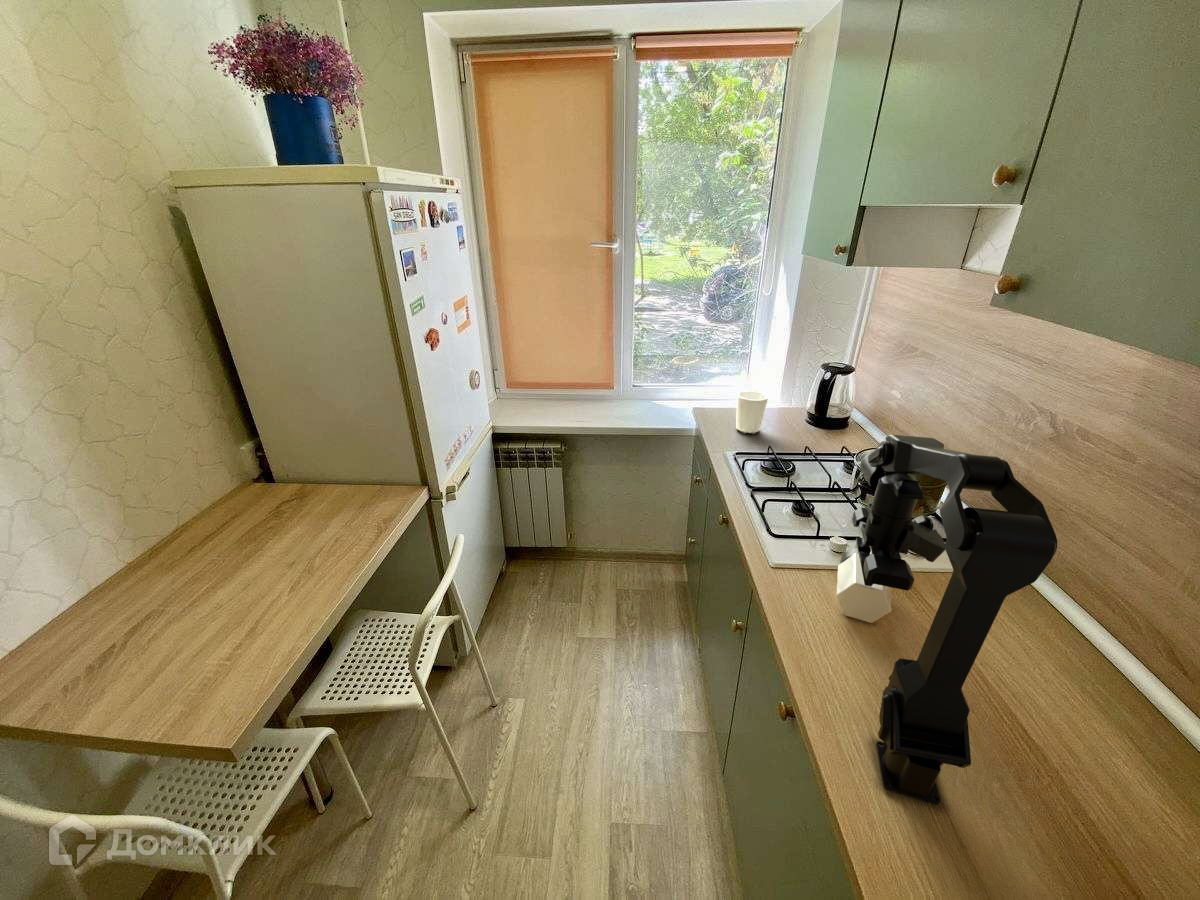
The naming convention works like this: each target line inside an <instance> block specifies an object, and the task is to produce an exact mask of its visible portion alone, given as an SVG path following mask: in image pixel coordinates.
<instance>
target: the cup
mask: <svg viewBox="0 0 1200 900" xmlns="http://www.w3.org/2000/svg"><path fill="white" fill-rule="evenodd" d="M736 396H737V397H736V422H735V423H736V424H735V425H736V426H735V429H736V431H739V432H740V433H741V434H743V435H746V434H751V435H755V434H757V433H758V432H759V431H760V430H761V429H760V428H761V425H762V422H763V418H764V415H765V411H766V407H767V405H768V400H769V396H768V394H766V393H765V392H761V391H757V390H740V391H739V392H737V394H736Z"/></svg>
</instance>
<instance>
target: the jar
mask: <svg viewBox="0 0 1200 900" xmlns="http://www.w3.org/2000/svg"><path fill="white" fill-rule="evenodd" d="M836 598H837V601H838V603H839V605H840V608H841V610H842V612H843V615H844V616H845V617H850V618H853V619H856V620H859V621H863V622H867V623H870V624H873V623H875V622H876V621H878V620H879V619H881V618H882V617H884V616H886V615H888V614H889V613H891V612H892V600H891V599H892V598H891V587H887V586H882V585H877V584H873V585H872V586H866V585H865V584H864V579H863V574H862V568H861V563H860V558H859V553H858V548H857V547H853V548H850V549H848V550H847V551H845V552H844V553H843V554H842V555H841V557H840V561H839V564H838V565H837V578H836Z"/></svg>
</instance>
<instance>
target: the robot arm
mask: <svg viewBox="0 0 1200 900" xmlns="http://www.w3.org/2000/svg"><path fill="white" fill-rule="evenodd" d="M859 466H860V467H859V468H860V470H861V472H862V474H863V476H864V477H865V480H866V481H867V483H868V485H869V487H870V489H871V490H873V491H874V496H873V498H872V503H869V502H868V503H867V506H866V507H862V506H861V507H859V508H857V509H855V510H854V511H853V513H852V517H851V518H852V519H851V520H852V524H853V527H854V528H859V527H860V524H861V523H862V524H861V528H860V530H861V537H860V536H858V537H856V538H855V541H856V548H858V553H859V558H860V563H861V568H862V574H863V579H864V584H865V585H866V586H872V585H873V584H877V585H882V586H887V587H890V588H893V589H897V590H903V591H910V590H911V589H912V587H913V585H914V582H915V577H914V574H913V572H912V569H911V566H910V564H909V563H908V562H907V561H906V560H905V559H902V556H901V554H904V555H908V552H909V551H910V552H912V553H914V554H916V555H917V556H920V557H922V558H924V559H925V560H926V561H927V562H929V563H934V562H935V561H936V560H937V559H938V558H939V557H940V556H941V555H942V554H943V553H944V552H946V555H947V557H948V559H949V563H950V565H951V567H952V573H951V576H950V578H949V581H948V583H947V586H946V588H945V590H944V593H943V596H942V598H941V600H940V603H939V606H938V607H937V611H936V613H935V615H934V617H933V620H932V623H931V625H930V627H929V630H928V632H927V635H926V637H925V639H924V642H923V645H922V647H921V650H920V652H919V654H918V657H917V659H916V660H915V659H910V658H909V659H907V658H902V657H899V658H898V659H897V660H896V661H895V662H894V666H893V669H892V671H891V674H890V675H889V676H888V680H889V682H888V683H887V686H885V687H884V689H883V690H882V697H881V703H880V709H879V714H878V715H879V724H880V727H879V730H878V732H877V736H878V738H879V739H880V740H881V741H880V740H878V741H876V742H875V749H876V755H877V760H878V767H879V771H880V777H881V783H882V784H881V785H882V787H883V788H884V789H885V790H887V791H890V792H894V793H897V794H900V795H904V796H907V797H910V798H913V799H916V800H920V801H922V802H926V803H930V804H933V805H936V806H938V805H940V803H941V802H942V801H941V800H942V799H941V797H940V792H939V789H938V785H937V781H936V780H937V779H938V777H939V776H940V775H939V774H940V773H941V771H942V770H941V769H942V767H943V765H944V764H945V765H950V766H956V767H958V768H960V769H965V768H967V767H970V766H971V765H972V758H971V757H972V755H971V746H970V745H971V744H970V731H969V719H968V718H969V714H970V712H971V711H970V710H971V708H970V706H969V704H968V702H967V698H966V697H965V694H964V692H963V686H964V684H965V682H966V680H967V678H968V676H969V674H970V672H971V670H972V668H973V666H974V664H975V662H976V660H977V657H978V655H979V654H980V651H981V649H982V647H983V645H984V643H985V641H986V639H987V637H988V634H989V633H990V631H991V629H992V626H993V624H994V622H995V620H996V618H997V617H998V614H999V612H1000V610H1001V608H1002V606H1003V603H1004V602H1005V601H1006V600H1005V599H1006V598H1007V597H1008V596H1009V595H1012V594H1013V593H1016V592H1017V591H1019V590H1022V589H1024V588H1026V587H1028V586H1029V585H1032V584H1034V583H1036V582H1037V580H1038V579H1039V578H1040V577H1041V575H1042V574H1043V572H1045V570H1046V568H1047V567H1048V566H1049V565H1050V563H1051V562H1052V560H1053V558H1054V556H1055V555H1056V552H1057V549H1058V537H1057V534H1056V532H1055V529H1054V527H1053V525H1052V522H1051V520H1050V518H1049V516H1048V513H1047V511H1046V508H1045V506H1044V504H1043V502H1042V501H1041V500H1040V499H1038V497H1036V496H1035V495H1034V494H1033V493H1032V492H1031V491H1030V490H1029V489H1027V487H1025V486H1024V485H1023V484H1022V483H1021V482H1019V480H1017V479H1016V477H1015V476H1014V473H1013V470H1012V468H1011V466H1010V464H1009V462H1008V461H1007V460H1005V459H1001V458H1000V457H998V456H990V455H979V454H974V453H973V454H972V453H968V452H961V451H957V450H953V449H949V448H945V444H944V443H943V442H941V441H940V440H938V439H936V438H934V437H926V436H916V435H915V436H913V435H903V434H902V435H901V434H888V435H887V436H886V437H885V440H883V441H881V442H880V443H879V444H878V445H877V447H876V448H875V449H874V450H872V451H870V452H869V453H867V454H866V455H865V456H864V457H863V458H862V459H861V461H860V465H859ZM912 475H918V476H926V477H929V478H933V479H934V480H935V479H936V480H938V481H942V482H944V483H946V484H947V487H948V490H949V492H948V494H947V495H946V498H945V499H944V501H943V503H942V505H941V507H940V509H939V515H940V517H941V518H940V519H941V522H942V527H943V530H944V533H945V537H946V539H945V540H944V539H943V536H942V535H941V534H940V533H939V532H938V530H937V529H935V528H934V526H935V524H934V522H933V519H932V518H931V517H929V516H927V515H925V514H922V515H919V516H917V517H915V518H913V519H912V517H913V513H914V510H915V509H916V505H917V502H918V501H919V500H920V501H921V500H924V498H925V495H924V491H923V490H922V486H921V485H920V482H919V481H918V480H916V479H915V477H913V476H912ZM963 489H964V490H973V491H981V492H990V494H991V496H992V497H993V499H994V500H995V501H996V502H998V503H999V505H1001V506H1002V507H1003V508H1004V509H1005V510H1000V509H991V508H981V507H970V506H967V507H965V508H964V505H963V501H962V499H961V493H962V491H963Z"/></svg>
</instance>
